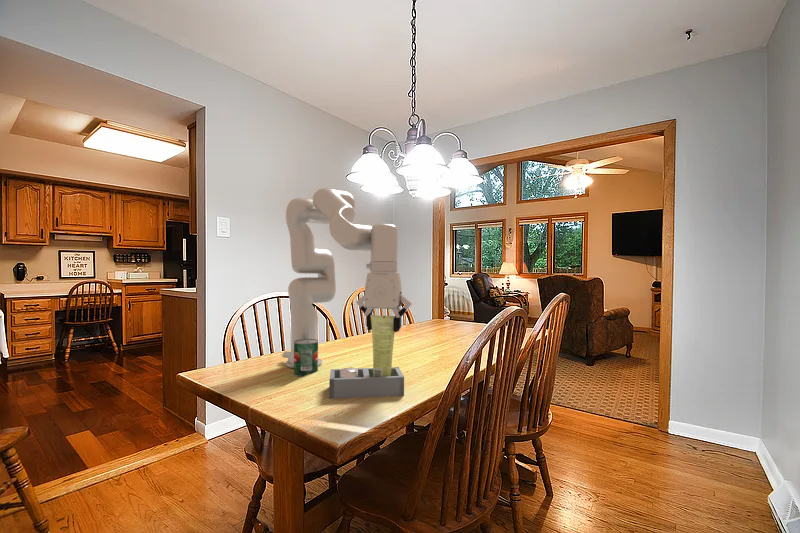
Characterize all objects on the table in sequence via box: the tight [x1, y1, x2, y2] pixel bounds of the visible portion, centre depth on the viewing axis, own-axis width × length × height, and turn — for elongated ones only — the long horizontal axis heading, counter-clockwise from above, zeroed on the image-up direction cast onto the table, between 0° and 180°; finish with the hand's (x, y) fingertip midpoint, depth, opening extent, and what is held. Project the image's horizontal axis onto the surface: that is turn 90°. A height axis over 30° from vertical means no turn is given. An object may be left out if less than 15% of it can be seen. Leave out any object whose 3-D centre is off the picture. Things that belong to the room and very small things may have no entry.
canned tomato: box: [293, 339, 319, 378], centre depth 128 cm, size 8×8×11 cm
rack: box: [328, 366, 405, 400], centre depth 108 cm, size 20×10×6 cm, turn 99°
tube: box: [371, 314, 396, 377], centre depth 109 cm, size 6×5×20 cm
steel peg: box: [340, 367, 358, 378], centre depth 108 cm, size 5×5×6 cm
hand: (383, 330), depth 109 cm, fingers closed on tube, 7 cm apart
